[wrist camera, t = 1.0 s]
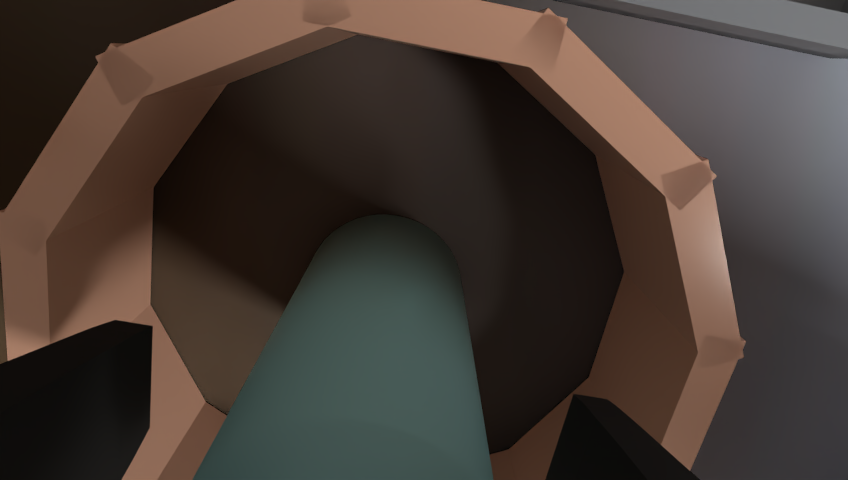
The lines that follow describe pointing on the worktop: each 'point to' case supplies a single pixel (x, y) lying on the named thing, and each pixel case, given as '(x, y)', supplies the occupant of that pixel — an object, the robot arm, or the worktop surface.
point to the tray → (749, 20)
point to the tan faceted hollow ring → (301, 34)
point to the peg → (363, 370)
